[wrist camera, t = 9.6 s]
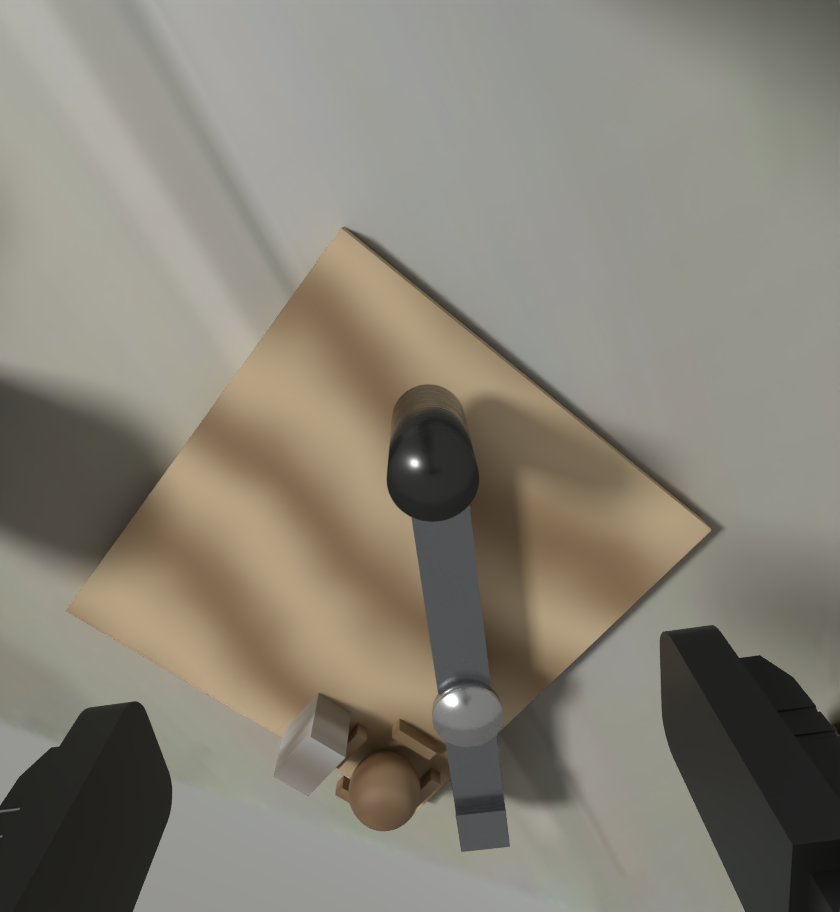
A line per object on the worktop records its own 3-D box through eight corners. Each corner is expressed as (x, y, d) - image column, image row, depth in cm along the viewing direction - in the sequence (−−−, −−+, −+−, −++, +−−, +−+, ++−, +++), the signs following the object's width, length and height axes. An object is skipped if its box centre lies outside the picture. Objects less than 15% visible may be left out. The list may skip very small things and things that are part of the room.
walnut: (379, 723, 35) (376, 780, 31) (434, 757, 36) (436, 816, 32) (337, 766, 36) (330, 825, 32) (391, 798, 37) (390, 859, 33)
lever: (511, 805, 36) (537, 963, 28) (450, 811, 36) (460, 971, 28) (461, 367, 27) (480, 429, 20) (383, 377, 27) (373, 443, 20)
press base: (344, 226, 27) (333, 231, 23) (701, 518, 32) (741, 562, 28) (70, 606, 33) (24, 660, 29) (405, 803, 38) (404, 873, 34)
